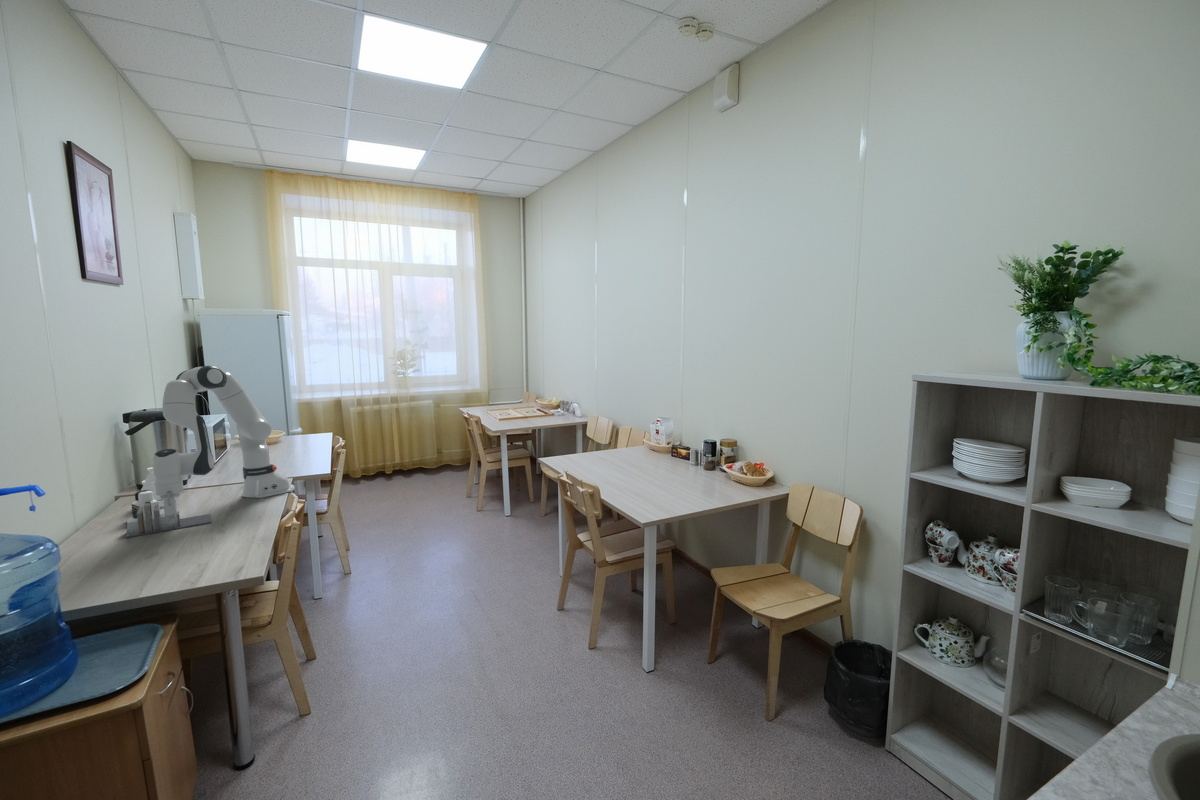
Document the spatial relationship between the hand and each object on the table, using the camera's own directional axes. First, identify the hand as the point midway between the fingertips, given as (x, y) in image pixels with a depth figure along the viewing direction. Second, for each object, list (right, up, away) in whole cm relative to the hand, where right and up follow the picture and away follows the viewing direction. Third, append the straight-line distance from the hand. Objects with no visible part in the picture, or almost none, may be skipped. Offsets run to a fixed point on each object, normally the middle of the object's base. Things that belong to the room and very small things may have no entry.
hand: (172, 520), depth 214 cm
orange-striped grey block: (-5, -2, -3) cm, 6 cm away
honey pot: (-29, +1, +26) cm, 39 cm away
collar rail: (-1, -2, 0) cm, 2 cm away
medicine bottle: (-19, -1, +9) cm, 21 cm away
